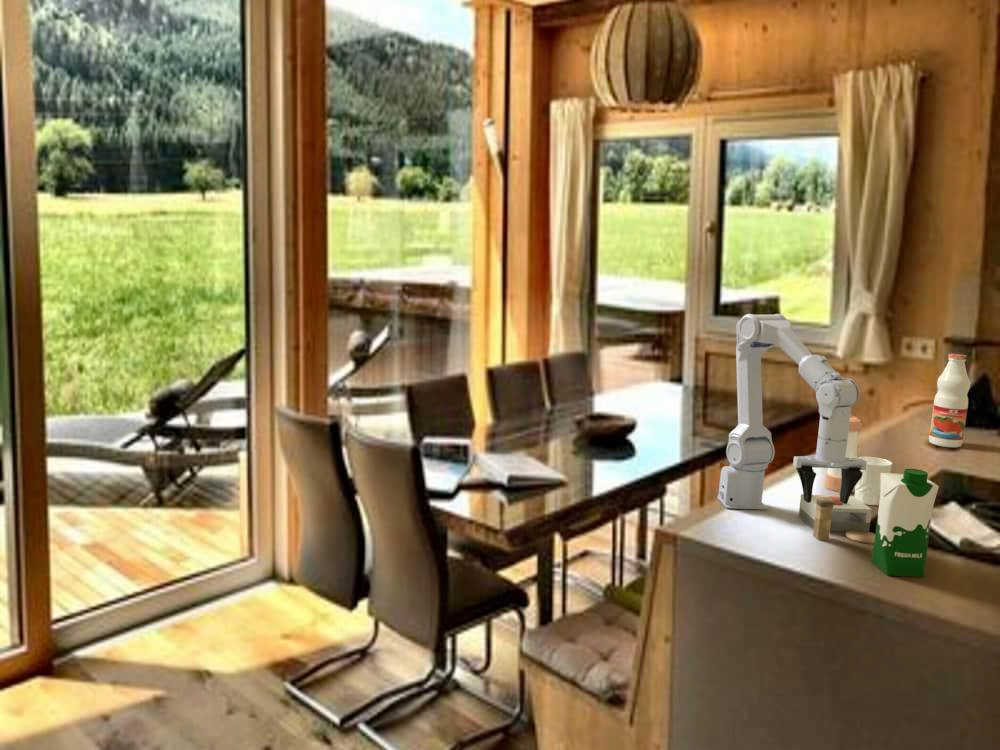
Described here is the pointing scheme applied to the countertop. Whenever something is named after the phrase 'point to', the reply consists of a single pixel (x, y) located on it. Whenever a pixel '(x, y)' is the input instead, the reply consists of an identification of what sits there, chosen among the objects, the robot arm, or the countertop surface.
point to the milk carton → (904, 523)
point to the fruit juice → (950, 404)
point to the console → (839, 514)
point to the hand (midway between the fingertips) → (825, 501)
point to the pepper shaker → (834, 474)
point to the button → (836, 500)
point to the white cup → (871, 480)
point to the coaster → (861, 536)
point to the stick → (823, 518)
